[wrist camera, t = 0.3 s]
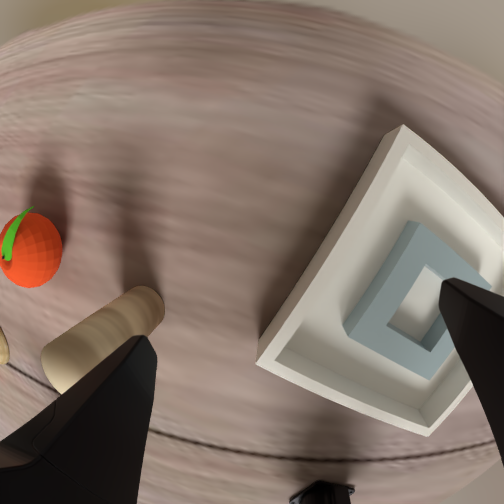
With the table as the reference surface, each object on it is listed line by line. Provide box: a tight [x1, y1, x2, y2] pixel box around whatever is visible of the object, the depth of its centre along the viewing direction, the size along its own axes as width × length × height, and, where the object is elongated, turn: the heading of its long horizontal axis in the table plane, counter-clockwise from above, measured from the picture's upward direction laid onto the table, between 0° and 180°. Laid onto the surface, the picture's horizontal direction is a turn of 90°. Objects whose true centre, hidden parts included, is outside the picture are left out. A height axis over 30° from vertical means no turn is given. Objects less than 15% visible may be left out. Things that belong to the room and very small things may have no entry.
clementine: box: [0, 206, 62, 288], centre depth 21 cm, size 8×7×7 cm
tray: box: [255, 124, 504, 437], centre depth 21 cm, size 20×20×4 cm
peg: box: [41, 286, 165, 394], centre depth 19 cm, size 4×4×12 cm
